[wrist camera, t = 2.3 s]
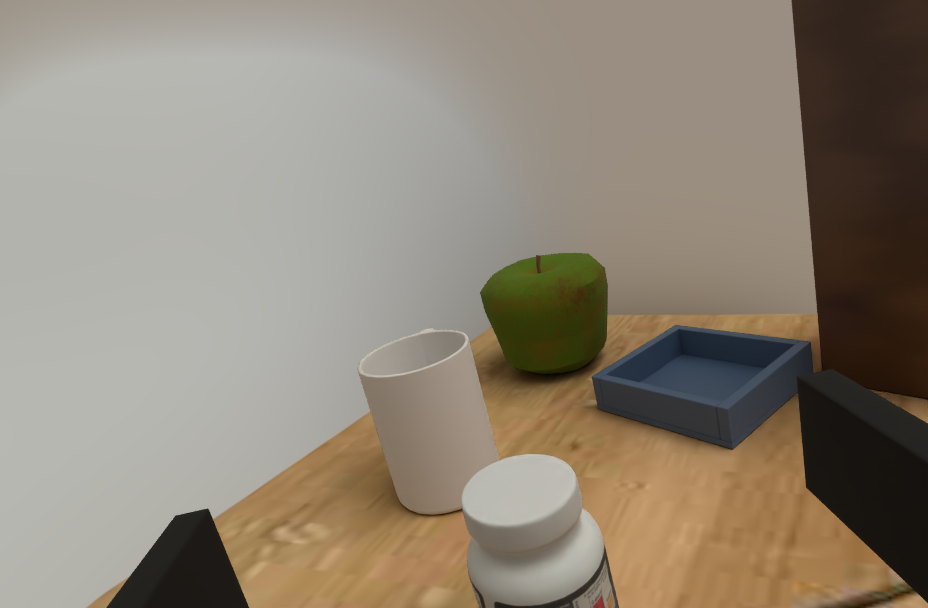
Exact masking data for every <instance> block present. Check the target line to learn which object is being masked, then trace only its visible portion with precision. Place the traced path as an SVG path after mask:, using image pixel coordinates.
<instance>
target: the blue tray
mask: <svg viewBox="0 0 928 608" xmlns="http://www.w3.org/2000/svg"><path fill="white" fill-rule="evenodd" d="M812 373H814V372H813V362H812V350H811V342H808V341H799V340H793V339H785V338H777V337H769V336H760V335H752V334H744V333H736V332H728V331H720V330H712V329H704V328H696V327H688V326H679V325H675V326H673V327H672V328H670V329H669V330H667V331H665V332H664V333H662V334H660V335H659V336H657V337H656V338H654V339H652V340H651V341H649V342H647V343H646V344H644V345H642V346H641V347H639V348H638V349H636V350H634V351H633V352H631V353H629V354H628V355H626V356H625V357H623V358H621V359H620V360H618V361H616V362H615V363H613V364H612V365H610V366H608V367H607V368H605V369H603V370H602V371H600V372H599V373H597V374H595V375H594V376H592V380H593V385H594V390H595V395H596V400H597V403H598V404H597V406H598V409H600V410H603V411H606V412H610V413H613V414H616V415H620V416H623V417H626V418H630V419H633V420H636V421H640V422H643V423H647V424H650V425H653V426H657V427H660V428H663V429H667V430H670V431H673V432H677V433H680V434H683V435H687V436H690V437H693V438H697V439H700V440H703V441H707V442H710V443H713V444H717V445H720V446H724V447H727V448H730V449H734V448H735V447H736V446H737V445H738V444H739V443H740V442H741V441H743V440H744V439H745V438H746V437H747V436H748V435H749V434H750V433H752V432H753V431H754V430H755V429H756V428H757V427H758V426H760V425H761V424H762V423H763V422H764V421H765V420H766V419H767V418H769V417H770V416H771V415H772V414H773V413H774V412H775V411H777V410H778V409H779V408H780V407H781V406H782V405H783V404H784V403H786V402H787V401H788V400H789V399H790V398H791V397H792V396H793V395H795V394H796V393H797V392H798V386H797V377H799V376H803V375H808V374H812Z"/></svg>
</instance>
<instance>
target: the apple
mask: <svg viewBox="0 0 928 608" xmlns="http://www.w3.org/2000/svg"><path fill="white" fill-rule="evenodd" d="M607 290H608V285H607V279H606V273H605V268H604V267H603V266H602V265H601V264H600V263H599V262H597V261H596V260H595V259H594V258H593V257H592V256H590V255H589V254H583V253H559V254H551V255H542V256H538V255H537V256H536V257H533V258H529V259H524V260H520V261H518V262H516V263H514V264H512V265H510V266H507V267H505V268H503V269H502V270H500V271H498V272H497V273H495V274H494V275H493V276H492V277H491V278H490V279H489V280H488V281H487V283H486V284H485V286H484V287H483V289H482V290H481V292H480V294H481V297H482V302H483V305H484V309H485V312H486V314H487V317H488V319H489V321H490V323H491V325H492V328H493V330H494V332H495V334H496V336H497V338H498V341H499V343H500V346H501V348H502V350H503V353H504V355H505V358H506V360H507V362H508V363H509V364H511V365H512V366H513V367H515V368H517V369H521V370H525V371H529V372H533V373H541V374H553V373H564V372H570V371H574V370H576V369H579V368H581V367H584V366H585V365H586V364H588V363H589V362H590V361H591V360H592V359H593V358H594V357H595V356H596V355H597V354H598V353H599V352H600V350H601V349H602V348H603V347H604V345H605V342H606V339H607V299H608V298H607V297H608V295H607V294H608V292H607Z"/></svg>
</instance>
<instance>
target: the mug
mask: <svg viewBox="0 0 928 608" xmlns="http://www.w3.org/2000/svg"><path fill="white" fill-rule="evenodd" d="M358 372H359V376H360V379H361V382H362V385H363V389H364V392H365V395H366V398H367V401H368V404H369V408H370V411H371V414H372V417H373V420H374V423H375V427H376V430H377V433H378V436H379V439H380V443H381V446H382V449H383V452H384V455H385V458H386V462H387V465H388V468H389V471H390V474H391V478H392V481H393V484H394V487H395V490H396V493H397V496H398V498H399V500H400V502H401V503H402V504H403V505H404V506H405V507H406V508H408V509H409V510H411V511H414V512H417V513H419V514H431V515H433V514H443V513H449V512H452V511H456V510H460V509H462V505H461V496H462V493H463V490H464V488H465V486H466V484H467V483H468V482H469V480H470V479H471V478H472V477H473V476H474V475H475V474H476V473H477V472H479V471H480V470H482V469H483V468H485V467H487V466H489V465H490V464H492V463H495V462H497V461H500V460H499V456H498V452H497V448H496V444H495V440H494V436H493V433H492V429H491V425H490V421H489V417H488V413H487V409H486V405H485V401H484V397H483V393H482V390H481V386H480V382H479V378H478V374H477V370H476V366H475V362H474V358H473V354H472V350H471V347H470V343H469V339H468V336H467V335H466V334H464V333H462V332H459V331H455V330H437V331H436V330H435V329H432V328H430V329H425V330H421V331H420V332H418V334H415V335H411V336H407V337H404V338H401V339H398V340H395V341H392V342H390V343H388V344H386V345H383V346H381V347H379V348H378V349H376V350H374V351H372V352H371V353H370V354H368V355H367V356H366V357H364V358H363V360H362V361H361V362H360V363H359V365H358Z"/></svg>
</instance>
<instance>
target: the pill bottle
mask: <svg viewBox="0 0 928 608" xmlns="http://www.w3.org/2000/svg"><path fill="white" fill-rule="evenodd" d="M461 505H462V510H463V514H464V518H465V521H466V526H467V529H468V531H469V533H470V535H471V536H472V538H471V541H470V544H469V548H468V555H467V566H468V573H469V577H470V580H471V583H472V587H473V590H474V593H475V596H476V599H477V602H478V605H479V608H619V605H618V600H617V597H616V592H615V588H614V584H613V579H612V575H611V572H610V567H609V562H608V557H607V553H606V548H605V545H604V541H603V537H602V534H601V531H600V529H599V527H598V525H597V523H596V522H595V520H594V519H593V517H592V516H591V515H590V514H589V513H588V512H587V511H586V510H585V509H584V508H582V507H583V501H582V496H581V491H580V488H579V484H578V481H577V477H576V475H575V473H574V471H573V469H572V468H571V467H570V466H569V465H568V464H567V463H566V462H564V461H562V460H561V459H558V458H556V457H552V456H548V455H542V454H525V455H517V456H512V457H509V458H505V459H502V460H500V461H497V462H495V463H492V464H490V465H489V466H487V467H485V468H483V469H482V470H480V471H479V472H477V473H476V474H475V475H474V476H473V477H472V478H471V479H470V480H469V482H468V483H467V484H466V486H465V488H464V490H463V493H462V496H461Z"/></svg>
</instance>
